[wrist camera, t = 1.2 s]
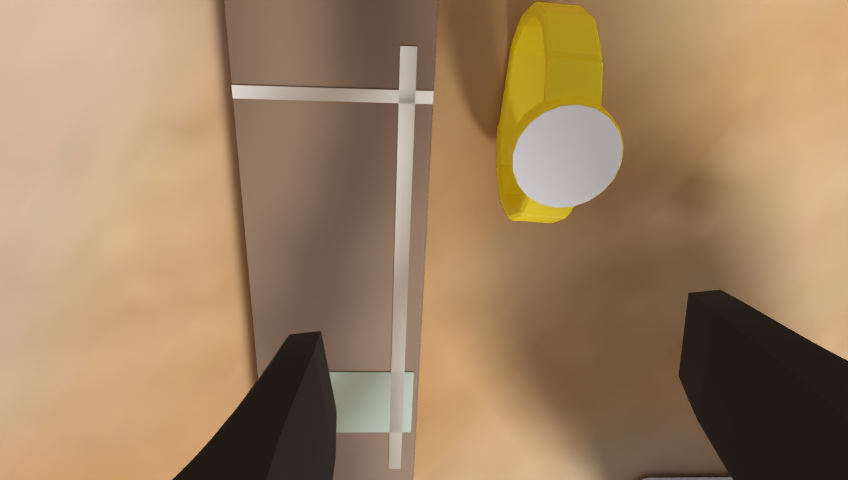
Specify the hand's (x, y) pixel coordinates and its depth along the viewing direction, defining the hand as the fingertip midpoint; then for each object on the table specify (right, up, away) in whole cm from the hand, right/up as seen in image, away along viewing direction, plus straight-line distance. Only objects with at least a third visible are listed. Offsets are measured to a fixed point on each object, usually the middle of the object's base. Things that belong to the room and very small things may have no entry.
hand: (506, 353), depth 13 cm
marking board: (-5, +1, +11) cm, 12 cm away
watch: (+2, +7, +8) cm, 11 cm away
